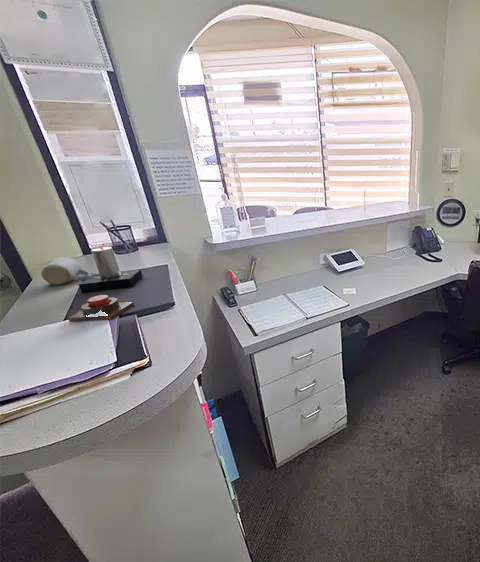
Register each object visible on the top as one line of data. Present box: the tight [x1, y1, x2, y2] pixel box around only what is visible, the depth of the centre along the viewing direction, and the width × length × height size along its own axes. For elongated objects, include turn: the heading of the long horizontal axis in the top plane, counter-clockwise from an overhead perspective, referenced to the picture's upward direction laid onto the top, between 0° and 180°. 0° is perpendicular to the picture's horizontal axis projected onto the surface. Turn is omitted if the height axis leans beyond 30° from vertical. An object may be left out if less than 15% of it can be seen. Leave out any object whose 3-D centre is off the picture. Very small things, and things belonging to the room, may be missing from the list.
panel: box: [78, 268, 144, 294], centre depth 99 cm, size 13×10×3 cm
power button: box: [86, 294, 110, 307], centre depth 77 cm, size 4×4×2 cm
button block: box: [67, 296, 136, 323], centre depth 78 cm, size 10×8×4 cm
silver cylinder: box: [90, 245, 121, 279], centre depth 97 cm, size 5×5×9 cm
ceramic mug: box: [41, 256, 92, 286], centre depth 103 cm, size 11×8×8 cm
